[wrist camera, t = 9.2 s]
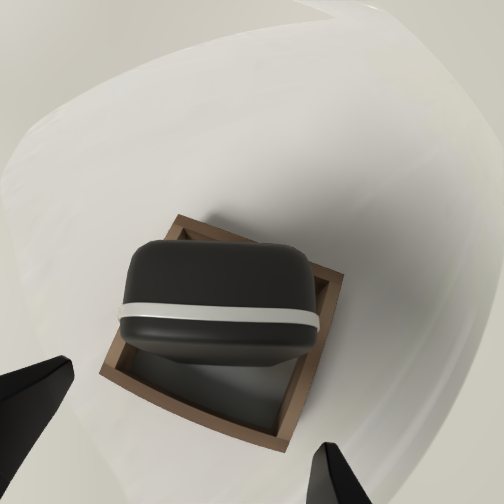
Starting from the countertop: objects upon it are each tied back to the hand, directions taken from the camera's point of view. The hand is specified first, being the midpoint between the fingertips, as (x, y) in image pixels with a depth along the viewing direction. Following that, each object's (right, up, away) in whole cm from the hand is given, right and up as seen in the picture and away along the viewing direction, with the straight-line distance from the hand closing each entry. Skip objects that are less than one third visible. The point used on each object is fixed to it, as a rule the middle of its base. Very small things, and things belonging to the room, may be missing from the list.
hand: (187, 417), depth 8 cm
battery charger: (0, -1, +11) cm, 11 cm away
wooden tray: (0, -1, +11) cm, 11 cm away
